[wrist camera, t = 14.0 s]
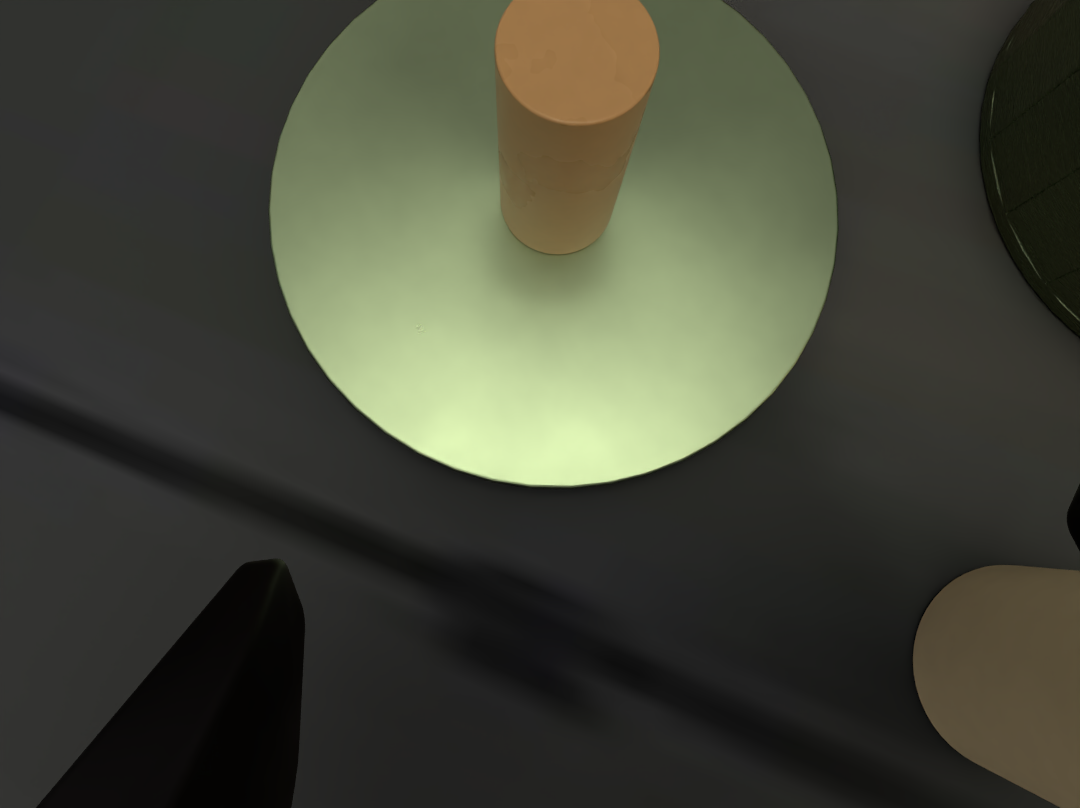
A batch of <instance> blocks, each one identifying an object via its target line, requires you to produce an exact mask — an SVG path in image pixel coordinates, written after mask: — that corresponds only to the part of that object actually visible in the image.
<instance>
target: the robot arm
mask: <svg viewBox="0 0 1080 808" xmlns="http://www.w3.org/2000/svg"><path fill="white" fill-rule="evenodd" d="M1067 525H1068V528H1069V531H1070V534H1071V536H1072V538H1073V539H1074V541H1075V543H1076V545H1077V547H1078V549H1079V551H1080V484H1079V487H1078V489H1077V491H1076V493H1075V496H1074V498H1073V500H1072V502H1071V504H1070V507H1069V509H1068V512H1067ZM304 639H305V618H304V612H303V607H302V604H301V602H300V599H299V596H298V594H297V591H296V588H295V586H294V583H293V580H292V577H291V575H290V572H289V569H288V567H287V565H286V564H285V562H284V561H283V560H281V559H269V560H260V561H252V562H247V563H245V564H243V565H242V566H240V567H239V568H238V569H237V570H236V572H235V573H234V574H233V575H232V576H231V578H230V579H229V580H228V581H227V582H226V584H225V585H224V586H223V587H222V588H221V589H220V591H219V592H218V593H217V594H216V595H215V597H214V598H213V599H212V600H211V601H210V602H209V604H208V605H207V606H206V607H205V608H204V610H203V611H202V612H201V613H200V614H199V615H198V617H197V618H196V619H195V620H194V621H193V623H192V624H191V625H190V626H189V627H188V628H187V630H186V631H185V632H184V633H183V634H182V636H181V637H180V638H179V639H178V640H177V641H176V643H175V644H174V645H173V646H172V647H171V649H170V650H169V651H168V652H167V653H166V655H165V656H164V657H163V658H162V659H161V660H160V662H159V663H158V664H157V665H156V666H155V668H154V669H153V670H152V671H151V672H150V673H149V675H148V676H147V677H146V678H145V679H144V681H143V682H142V683H141V684H140V685H139V686H138V688H137V689H136V690H135V691H134V692H133V694H132V695H131V696H130V697H129V698H128V699H127V701H126V702H125V703H124V704H123V705H122V707H121V708H120V709H119V710H118V711H117V713H116V714H115V715H114V716H113V717H112V718H111V720H110V721H109V722H108V723H107V724H106V726H105V727H104V728H103V729H102V730H101V731H100V733H99V734H98V735H97V736H96V737H95V739H94V740H93V741H92V742H91V743H90V744H89V746H88V747H87V748H86V749H85V750H84V752H83V753H82V754H81V755H80V756H79V757H78V759H77V760H76V761H75V762H74V763H73V765H72V766H71V767H70V768H69V769H68V770H67V772H66V773H65V774H64V775H63V776H62V778H61V779H60V780H59V781H58V782H57V784H56V785H55V786H54V787H53V788H52V789H51V791H50V792H49V793H48V794H47V795H46V797H45V798H44V799H43V800H42V801H41V802H40V804H39V805H38V806H37V807H36V808H291V805H292V799H293V793H294V787H295V780H296V773H297V766H298V754H299V740H300V720H301V699H302V679H303V659H304Z"/></svg>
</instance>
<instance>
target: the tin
mask: <svg viewBox="0 0 1080 808" xmlns="http://www.w3.org/2000/svg"><path fill="white" fill-rule="evenodd" d="M980 152H981V168H982V173H983V178H984V183H985V188H986V193H987V198H988V201H989V204H990V207H991V210H992V213H993V216H994V219H995V222H996V225H997V228H998V230H999V232H1000V234H1001V236H1002V238H1003V240H1004V242H1005V244H1006V246H1007V249H1008V251H1009V253H1010V255H1011V257H1012V258H1013V260H1014V261H1015V263H1016V264H1017V266H1018V268H1019V269H1020V271H1021V272H1022V274H1023V275H1024V277H1025V278H1026V280H1027V282H1028V283H1029V284H1030V286H1031V287H1032V288H1033V289H1034V291H1035V292H1036V293H1037V294H1038V295H1039V297H1040V298H1041V299H1042V300H1043V301H1044V303H1045V304H1046V305H1047V306H1048V307H1049V309H1050V310H1051V311H1052V312H1053V313H1054V314H1055V315H1057V316H1058V317H1059V318H1060V319H1061V320H1062V321H1063V322H1064V323H1065V324H1066V325H1067V326H1068V327H1069V328H1070V329H1071V330H1072V331H1073V332H1074V333H1076V334H1077V335H1078V336H1080V0H1035V1H1034V2H1033V3H1032V4H1031V5H1030V6H1029V8H1028V9H1027V11H1026V13H1025V14H1024V15H1023V17H1022V18H1021V19H1020V20H1019V22H1018V23H1017V24H1016V26H1015V27H1014V28H1013V29H1012V31H1011V33H1010V34H1009V36H1008V38H1007V40H1006V41H1005V43H1004V45H1003V47H1002V49H1001V50H1000V52H999V54H998V56H997V59H996V62H995V64H994V67H993V69H992V72H991V75H990V77H989V80H988V84H987V88H986V93H985V97H984V102H983V106H982V114H981V127H980Z"/></svg>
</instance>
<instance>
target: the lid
mask: <svg viewBox="0 0 1080 808" xmlns="http://www.w3.org/2000/svg"><path fill="white" fill-rule="evenodd" d="M268 211H269V227H270V243H271V250H272V255H273V260H274V265H275V270H276V275H277V280H278V284H279V286H280V289H281V292H282V295H283V298H284V301H285V303H286V306H287V309H288V312H289V315H290V317H291V319H292V321H293V323H294V325H295V327H296V329H297V331H298V333H299V335H300V337H301V339H302V341H303V342H304V344H305V346H306V348H307V350H308V352H309V353H310V354H311V356H312V357H313V359H314V360H315V362H316V363H317V364H318V366H319V367H320V369H321V370H322V371H323V373H324V374H325V376H326V377H327V379H328V380H329V381H330V382H331V383H332V385H333V386H334V387H335V388H336V389H337V390H338V391H339V392H340V393H341V394H342V395H343V396H344V397H345V398H346V400H347V401H348V402H349V403H350V404H351V405H352V406H353V407H354V408H355V409H356V410H357V411H358V412H360V413H361V414H362V415H363V416H364V417H366V418H367V419H368V420H369V421H371V422H372V423H373V424H374V425H375V426H377V427H378V428H379V429H380V430H382V431H383V432H384V433H385V434H387V435H388V436H390V437H391V438H393V439H395V440H396V441H398V442H399V443H401V444H403V445H404V446H406V447H408V448H409V449H411V450H412V451H414V452H416V453H417V454H419V455H421V456H423V457H425V458H427V459H430V460H432V461H434V462H436V463H439V464H441V465H443V466H445V467H447V468H450V469H452V470H454V471H457V472H460V473H464V474H467V475H470V476H474V477H477V478H480V479H484V480H487V481H491V482H495V483H502V484H508V485H514V486H521V487H527V488H548V489H574V488H583V487H593V486H602V485H609V484H613V483H617V482H621V481H625V480H630V479H634V478H638V477H642V476H645V475H648V474H651V473H653V472H656V471H658V470H661V469H663V468H666V467H669V466H671V465H674V464H676V463H679V462H681V461H684V460H685V459H687V458H689V457H691V456H693V455H694V454H696V453H698V452H700V451H702V450H703V449H705V448H707V447H709V446H711V445H712V444H714V443H716V442H717V441H719V440H720V439H721V438H723V437H724V436H725V435H727V434H728V433H729V432H731V431H732V430H733V429H735V428H736V427H737V426H739V425H740V424H741V423H743V422H744V421H745V420H747V419H748V418H749V417H750V416H751V415H752V414H753V413H754V412H755V411H756V410H757V409H758V408H759V407H760V406H761V405H762V404H763V403H764V402H765V401H766V400H767V399H768V398H769V397H770V396H771V395H772V394H773V393H774V392H775V390H776V389H777V388H778V386H779V385H780V384H781V382H782V381H783V380H784V378H785V377H786V376H787V375H788V373H789V372H790V371H791V369H792V368H793V367H794V365H795V364H796V362H797V360H798V359H799V357H800V355H801V353H802V352H803V350H804V348H805V346H806V345H807V343H808V341H809V339H810V338H811V336H812V334H813V332H814V329H815V327H816V324H817V322H818V319H819V317H820V314H821V312H822V309H823V307H824V304H825V302H826V299H827V295H828V291H829V287H830V282H831V278H832V274H833V270H834V266H835V258H836V248H837V238H838V204H837V190H836V184H835V178H834V172H833V167H832V161H831V157H830V154H829V150H828V147H827V144H826V141H825V138H824V134H823V131H822V128H821V125H820V123H819V121H818V119H817V117H816V114H815V112H814V110H813V108H812V106H811V103H810V101H809V99H808V97H807V95H806V93H805V91H804V90H803V88H802V87H801V85H800V84H799V82H798V80H797V79H796V77H795V76H794V74H793V72H792V71H791V69H790V68H789V66H788V64H787V63H786V62H785V61H784V60H783V58H782V57H781V56H780V55H779V53H778V52H777V51H776V50H775V49H774V47H773V46H772V45H771V44H770V42H769V41H768V40H767V39H766V38H765V37H764V36H763V35H762V34H761V33H760V32H759V31H758V30H757V29H756V28H755V27H754V26H753V25H752V24H751V23H750V22H749V21H748V20H746V19H745V18H744V17H743V16H742V15H741V14H740V13H739V12H738V11H736V10H735V9H733V8H732V7H731V6H729V5H728V4H727V3H725V2H724V1H723V0H377V1H375V2H374V3H373V4H372V5H371V6H369V7H368V8H367V9H366V10H364V11H363V12H362V13H361V14H360V15H358V16H357V17H356V18H355V19H354V20H352V21H351V22H350V24H349V25H348V26H347V27H346V28H345V29H344V30H343V31H342V32H341V33H340V34H339V35H338V36H337V37H336V38H335V39H334V41H333V42H332V43H331V44H330V45H329V46H328V47H327V49H326V50H325V51H324V53H323V54H322V56H321V57H320V58H319V60H318V61H317V63H316V64H315V65H314V67H313V68H312V70H311V71H310V72H309V74H308V75H307V77H306V79H305V81H304V83H303V85H302V87H301V88H300V90H299V92H298V94H297V96H296V98H295V100H294V102H293V103H292V105H291V108H290V111H289V113H288V116H287V119H286V122H285V124H284V127H283V130H282V132H281V135H280V138H279V141H278V146H277V150H276V155H275V160H274V164H273V169H272V173H271V184H270V197H269V210H268Z"/></svg>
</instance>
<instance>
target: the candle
mask: <svg viewBox="0 0 1080 808" xmlns="http://www.w3.org/2000/svg"><path fill="white" fill-rule="evenodd" d="M913 672H914V678H915V684H916V688H917V691H918V695H919V698H920V701H921V703H922V705H923V708H924V710H925V712H926V714H927V716H928V718H929V719H930V721H931V723H932V724H933V726H934V727H935V728H936V730H937V731H938V732H939V734H940V735H941V736H942V737H943V738H944V739H945V740H946V742H947V743H948V744H949V745H950V746H951V747H953V748H954V749H955V750H956V751H958V752H959V753H960V754H961V755H963V756H964V757H966V758H968V759H969V760H971V761H973V762H974V763H976V764H978V765H980V766H982V767H984V768H986V769H988V770H990V771H991V772H993V773H995V774H997V775H999V776H1001V777H1003V778H1005V779H1007V780H1009V781H1011V782H1013V783H1014V784H1016V785H1018V786H1020V787H1022V788H1024V789H1026V790H1028V791H1030V792H1032V793H1034V794H1036V795H1037V796H1039V797H1041V798H1043V799H1045V800H1047V801H1049V802H1051V803H1053V804H1055V805H1057V806H1059V807H1060V808H1080V571H1075V570H1063V569H1052V568H1040V567H1028V566H1017V565H994V566H986V567H983V568H979V569H975V570H973V571H970V572H968V573H965V574H963V575H962V576H960V577H958V578H956V579H955V580H953V581H952V582H951V583H949V584H948V585H947V586H946V587H944V588H943V589H942V590H941V591H940V592H939V593H938V595H937V596H936V597H935V598H934V599H933V600H932V602H931V603H930V605H929V606H928V608H927V609H926V611H925V613H924V615H923V617H922V619H921V621H920V624H919V627H918V630H917V633H916V638H915V642H914V650H913Z"/></svg>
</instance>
